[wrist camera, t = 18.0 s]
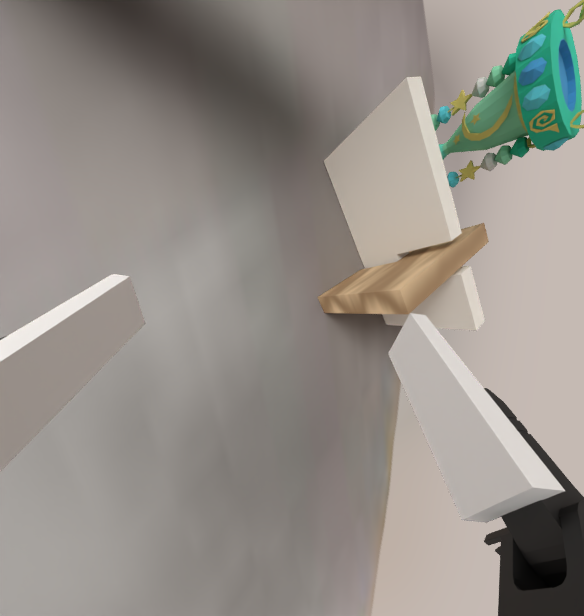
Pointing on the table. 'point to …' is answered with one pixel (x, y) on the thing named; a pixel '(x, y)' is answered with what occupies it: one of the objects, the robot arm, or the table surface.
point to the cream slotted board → (403, 199)
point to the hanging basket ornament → (522, 99)
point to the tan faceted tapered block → (404, 278)
